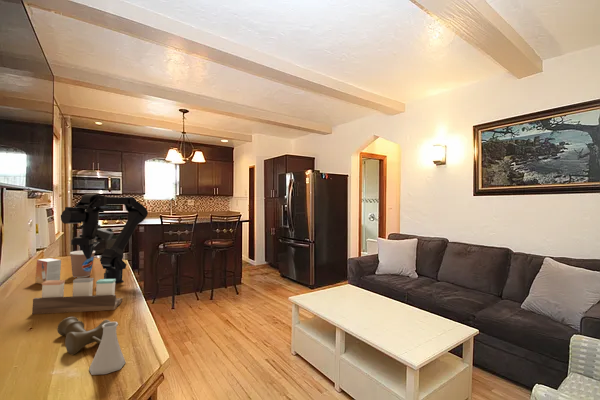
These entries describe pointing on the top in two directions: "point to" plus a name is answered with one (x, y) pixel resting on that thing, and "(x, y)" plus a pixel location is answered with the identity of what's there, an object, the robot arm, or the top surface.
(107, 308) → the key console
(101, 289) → the teal key
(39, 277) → the small box
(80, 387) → the top surface
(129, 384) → the top surface
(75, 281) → the grey key
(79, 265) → the coffee cup
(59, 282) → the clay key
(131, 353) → the top surface
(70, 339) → the kendama
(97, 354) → the flask
